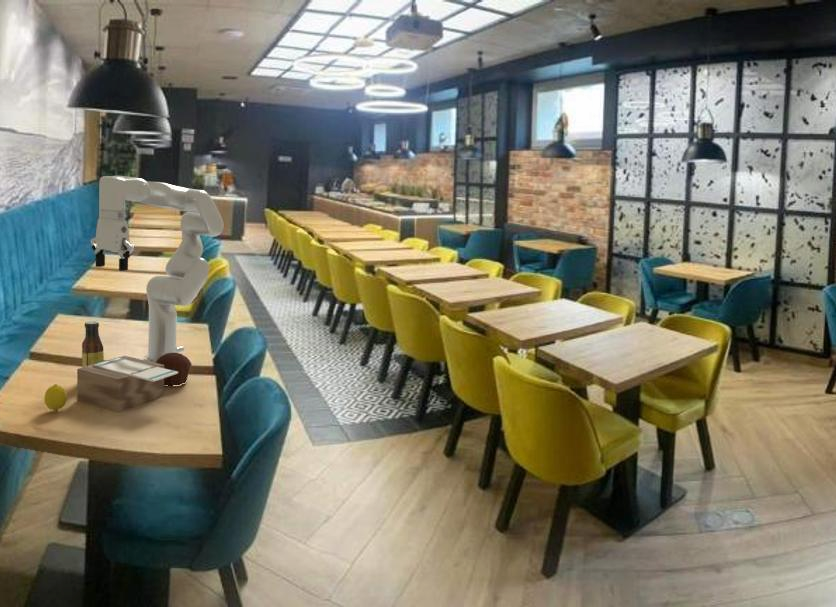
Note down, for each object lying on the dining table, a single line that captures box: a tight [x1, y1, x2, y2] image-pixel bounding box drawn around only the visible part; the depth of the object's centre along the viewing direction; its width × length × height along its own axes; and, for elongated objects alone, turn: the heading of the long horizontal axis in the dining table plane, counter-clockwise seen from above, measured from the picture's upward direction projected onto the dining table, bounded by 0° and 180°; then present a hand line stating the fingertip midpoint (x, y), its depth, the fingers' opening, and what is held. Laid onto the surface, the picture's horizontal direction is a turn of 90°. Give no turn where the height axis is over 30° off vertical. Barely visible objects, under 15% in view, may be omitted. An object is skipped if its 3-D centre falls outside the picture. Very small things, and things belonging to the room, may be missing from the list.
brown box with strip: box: [76, 355, 165, 413], centre depth 194 cm, size 18×16×11 cm
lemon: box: [44, 384, 68, 412], centre depth 180 cm, size 6×6×8 cm
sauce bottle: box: [81, 320, 105, 368], centre depth 205 cm, size 7×6×20 cm
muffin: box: [156, 352, 192, 386], centre depth 212 cm, size 12×11×10 cm
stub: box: [132, 367, 178, 382], centre depth 189 cm, size 10×8×1 cm
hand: (111, 268), depth 206 cm, fingers open, 9 cm apart
